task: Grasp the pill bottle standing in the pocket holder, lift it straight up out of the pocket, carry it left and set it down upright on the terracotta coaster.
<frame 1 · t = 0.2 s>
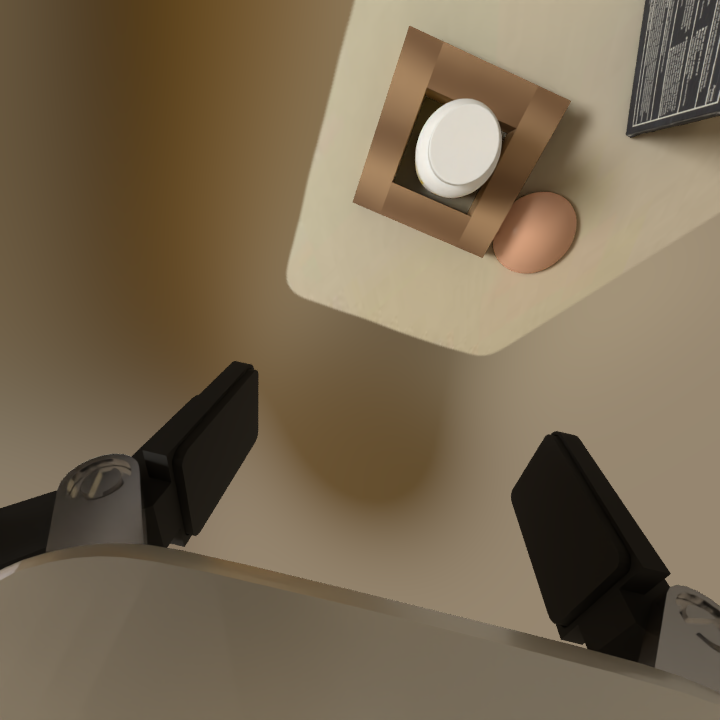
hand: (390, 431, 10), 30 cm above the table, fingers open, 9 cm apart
small box: (677, 53, 26), on the table
pill bottle: (447, 159, 32), resting in pocket holder
coaster: (532, 234, 34), on the table
pocket holder: (447, 159, 31), on the table
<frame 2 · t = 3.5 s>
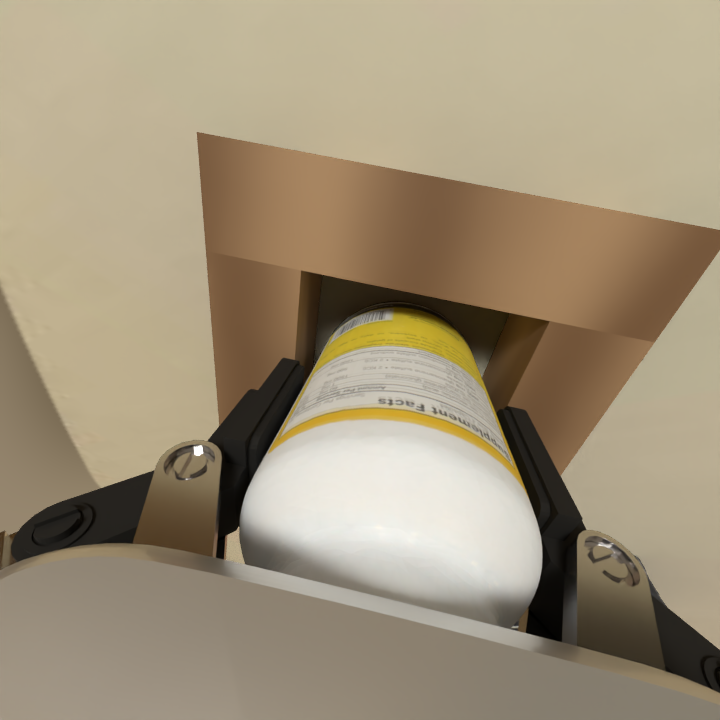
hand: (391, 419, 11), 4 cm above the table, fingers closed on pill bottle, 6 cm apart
pill bottle: (396, 364, 14), resting in pocket holder, touching gripper
pocket holder: (396, 366, 14), on the table
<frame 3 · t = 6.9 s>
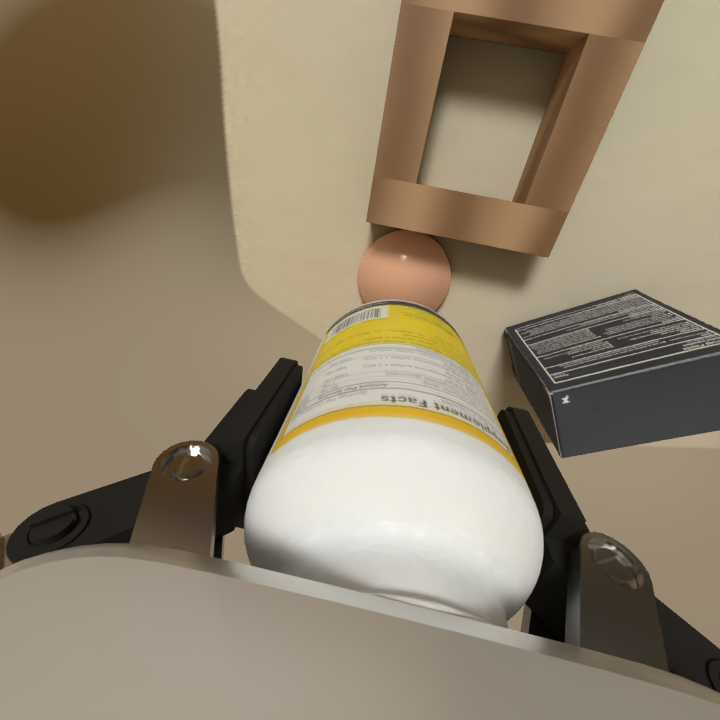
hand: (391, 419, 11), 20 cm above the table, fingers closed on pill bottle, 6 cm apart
small box: (569, 339, 29), on the table
pill bottle: (390, 361, 14), point 16 cm above the table, touching gripper
coaster: (403, 278, 28), on the table
pocket holder: (483, 125, 22), on the table
when the fingers open (6 cm above the table, at t = 10.2 s): pill bottle drops 1 cm, resting on coaster.
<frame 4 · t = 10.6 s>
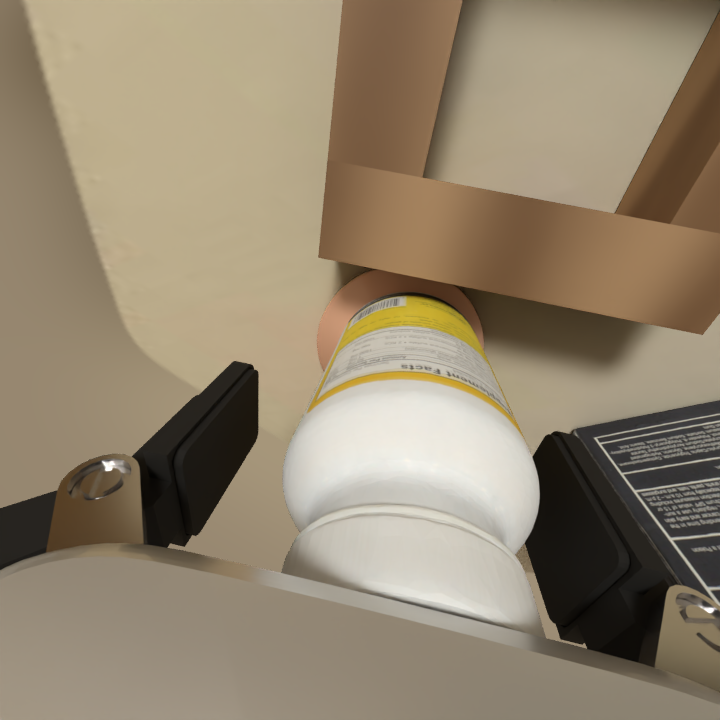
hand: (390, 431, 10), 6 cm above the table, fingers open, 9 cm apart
small box: (684, 448, 17), on the table
pill bottle: (406, 350, 15), resting on coaster
coaster: (397, 346, 16), on the table
pocket holder: (569, 50, 10), on the table
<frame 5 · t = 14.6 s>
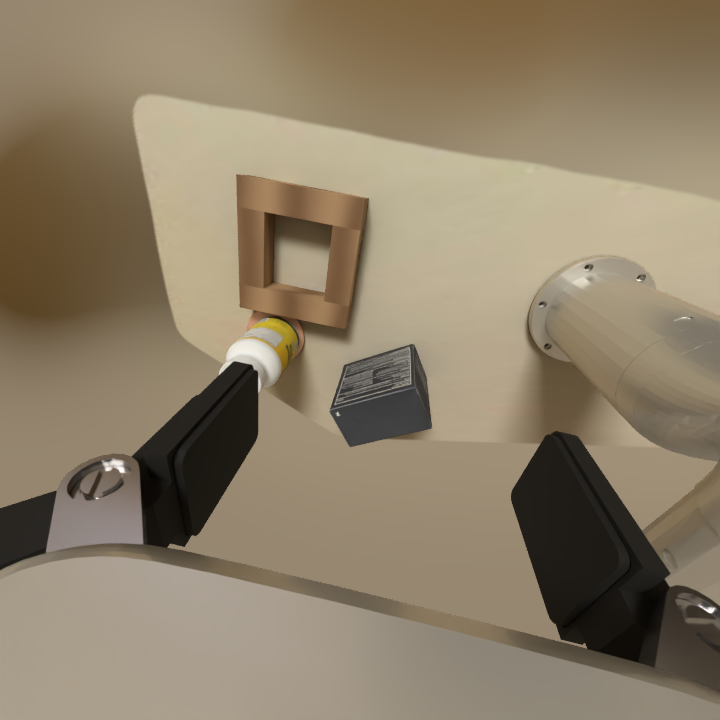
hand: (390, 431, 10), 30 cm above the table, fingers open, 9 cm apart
small box: (385, 372, 45), on the table
pill bottle: (278, 335, 43), resting on coaster
coaster: (276, 334, 44), on the table
pocket holder: (303, 254, 38), on the table
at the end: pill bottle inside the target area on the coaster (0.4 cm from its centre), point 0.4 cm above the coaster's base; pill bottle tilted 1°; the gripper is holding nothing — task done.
